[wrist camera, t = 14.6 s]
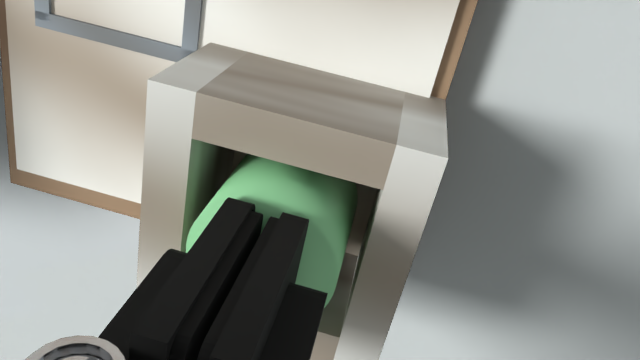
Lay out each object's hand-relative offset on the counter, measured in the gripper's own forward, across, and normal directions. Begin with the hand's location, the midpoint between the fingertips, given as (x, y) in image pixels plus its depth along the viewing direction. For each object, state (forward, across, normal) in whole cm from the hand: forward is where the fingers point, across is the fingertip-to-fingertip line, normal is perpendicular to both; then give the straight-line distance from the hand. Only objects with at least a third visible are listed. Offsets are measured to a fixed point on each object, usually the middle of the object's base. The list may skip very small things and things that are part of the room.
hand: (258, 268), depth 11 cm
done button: (+3, 0, 0) cm, 3 cm away
